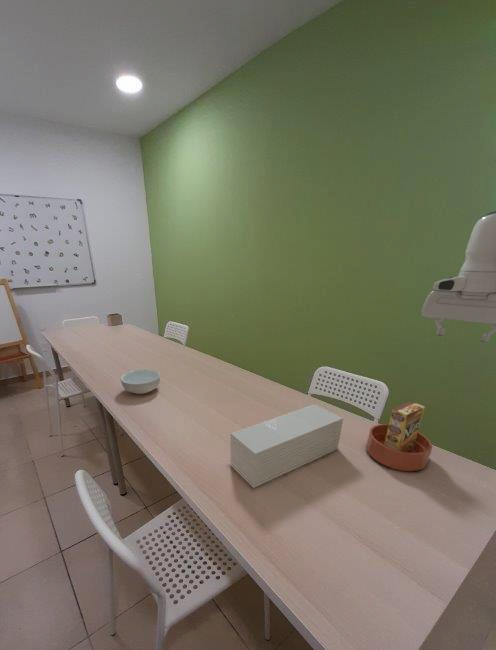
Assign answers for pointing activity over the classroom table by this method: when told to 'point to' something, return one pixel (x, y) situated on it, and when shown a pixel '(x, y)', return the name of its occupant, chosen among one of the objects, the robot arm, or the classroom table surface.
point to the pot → (395, 457)
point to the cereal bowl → (140, 381)
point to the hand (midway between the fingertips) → (461, 338)
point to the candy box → (404, 427)
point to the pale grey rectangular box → (284, 443)
